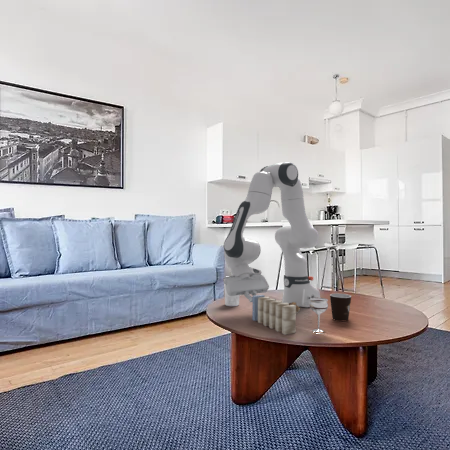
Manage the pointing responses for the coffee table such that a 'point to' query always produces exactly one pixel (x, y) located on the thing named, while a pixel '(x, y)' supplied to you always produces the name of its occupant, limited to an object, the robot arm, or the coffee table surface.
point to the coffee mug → (340, 306)
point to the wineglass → (318, 308)
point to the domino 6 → (288, 319)
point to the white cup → (231, 299)
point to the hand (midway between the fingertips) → (253, 301)
